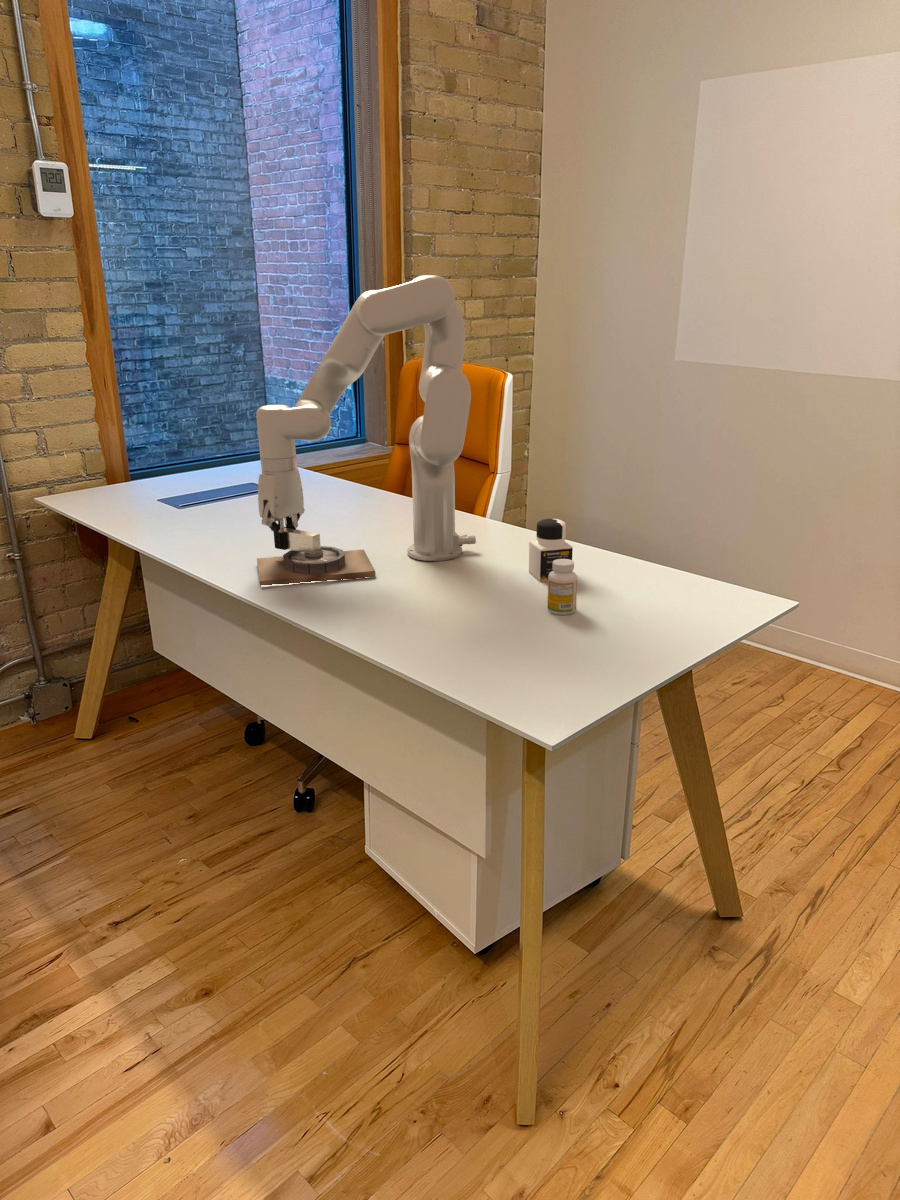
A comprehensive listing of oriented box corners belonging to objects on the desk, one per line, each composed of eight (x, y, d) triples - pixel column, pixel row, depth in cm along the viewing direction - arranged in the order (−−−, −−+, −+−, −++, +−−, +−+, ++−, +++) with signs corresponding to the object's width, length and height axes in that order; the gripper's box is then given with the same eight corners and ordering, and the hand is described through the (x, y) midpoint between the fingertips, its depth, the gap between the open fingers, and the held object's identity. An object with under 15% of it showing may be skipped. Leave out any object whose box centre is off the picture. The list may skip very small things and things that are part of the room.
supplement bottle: (557, 603, 167) (558, 555, 164) (581, 609, 164) (583, 560, 160) (541, 611, 163) (543, 562, 160) (566, 617, 160) (567, 568, 157)
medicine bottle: (540, 582, 179) (541, 526, 175) (528, 571, 185) (529, 517, 181) (571, 579, 181) (574, 523, 176) (559, 568, 187) (560, 515, 183)
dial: (346, 560, 188) (345, 531, 186) (317, 573, 181) (315, 542, 178) (295, 551, 196) (292, 522, 194) (264, 562, 188) (261, 533, 186)
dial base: (363, 555, 198) (363, 540, 196) (375, 577, 183) (374, 560, 182) (257, 564, 192) (256, 548, 191) (260, 588, 178) (258, 571, 176)
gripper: (290, 456, 192) (297, 535, 198) (239, 469, 179) (248, 554, 185) (316, 459, 188) (322, 539, 195) (266, 473, 175) (274, 559, 182)
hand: (286, 546), depth 190 cm, fingers closed on dial, 2 cm apart
